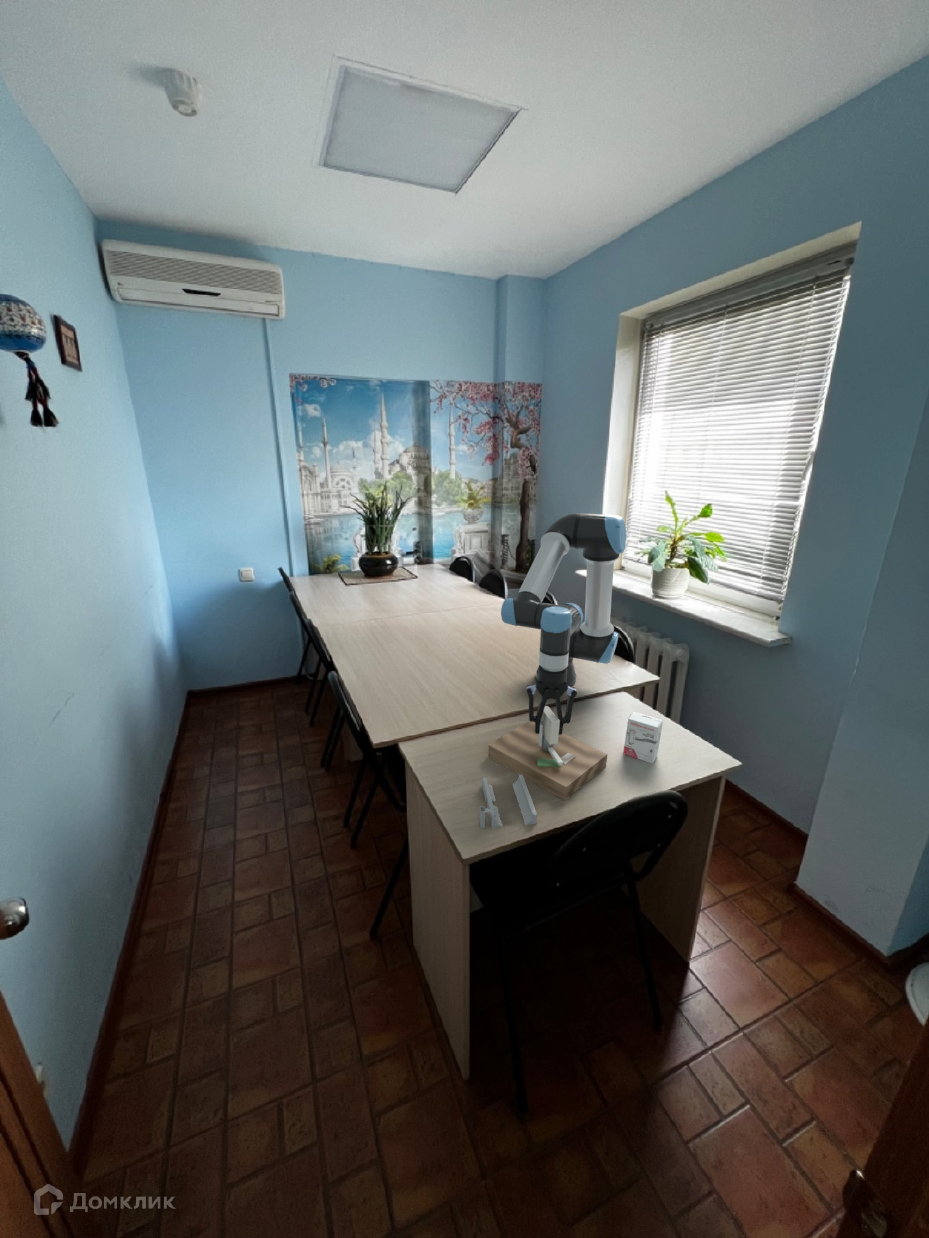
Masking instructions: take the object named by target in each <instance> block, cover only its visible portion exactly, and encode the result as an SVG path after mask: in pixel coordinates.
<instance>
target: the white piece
mask: <svg viewBox="0 0 929 1238" xmlns="http://www.w3.org/2000/svg"><path fill="white" fill-rule="evenodd" d="M541 720H542V722H543V731H542V746H541V749H542V750H543V751H546V752H550V754H551V755H552V757H553V758H554V759H555V761H556V762H557V764H558V765H563V761H562V760H561V758H560V757H559V756H558V754H557V753H556V752H555V750H554V749H553V744H557V743H558V738H559V725H560V720H559V719H558V715H556V714H555V713H554V711H553V710H552V709H551V707H549V706H548V705H545V708H544V711H543V715H542V719H541Z"/></svg>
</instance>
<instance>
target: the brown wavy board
mask: <svg viewBox="0 0 929 1238" xmlns="http://www.w3.org/2000/svg"><path fill="white" fill-rule="evenodd" d="M538 736H539V734H536V733H535V722H530V721H529V720H528V721H526V722H525V723H523V724H521V725H520V726H518V727H516V728H514V729H513V730H511V731H509V732H508V733H506V734H504V735H503V736H501V737H499V738H497V739H496V740H494V741H493V742H491V743H489V744H488V748H487V749H488V750H487V757H488V758H489V759H491V760H493V761H494V762H497V763H498V764H499V765H501V766H504V767H505V768H507V769H508V770H510V771H512V772H514V773H515V774H517V775H518V776H519V775H522V774H523V778H524V779H525V780H526V779H527V780H528V781H530V783H531V782H532V783H533V784H535V785H537V786H539V787H540V788H542V789H544V790H546V791H547V792H549V793H551V794H552V795H554V796H556V797H557V798H559V799H561V798H562V799H561V800H563V799H564V800H563V801H566V800H568V799H569V798H570V797H572V796H573V795H574V794H575V793H577V791H578V790H580V789H581V788H582V787H584V785H586V784H587V783H589V781H591V780H592V779H593V778H594V777H595V776H596V775H598V774H599V773H600V772H602V771H603V770H604V769H605V768H606V767H607V762H608V761H607V760H608V753H607V752H604V751H601V750H600V749H597V748H595V747H594V746H591V745H589V744H586V743H585V742H582V741H580V740H578V739H576V738H573V737H571V736H570V735H567V734H564V733H563V732H562V735H559V738H558V744H557V747H555V746H554V744H553V749H554V750H555V752H556V753H557V754H558V756H559V757H560V758H561V760H562V761H563V765H558V764H557V762H556V761H555V759H554V758H553V757H552V755H551V754H550V752H546V751H543V750H542V749H541V746H539V743H538ZM573 793H574V794H573ZM568 797H569V798H568Z"/></svg>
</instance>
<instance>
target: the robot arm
mask: <svg viewBox="0 0 929 1238" xmlns="http://www.w3.org/2000/svg"><path fill="white" fill-rule="evenodd" d="M626 528H627V527H626V523H625V520H624V518H623V517H621V516H620V515H612V514H609V513H608V514H604V513H603V514H601V513H581V512H572V513H568V514H566V515H563V516H562V517H560V518H558V519H557V520H556V521H554V522H552V523H551V525H549V526H548V527H547V528H546V530H545V531H544V532H543V534H542V535H541V539H540V547H539V549H538V552H537V553H536V556H535V557H534V560H533V562H532V563H531V566H530V568H529V570H528V571H527V574H526V575H525V578H524V580H523V582H522V584H521V586H520V588H519V590H518V592H517V595H516V596H515V598H514V597H507V598H506V599H504V600H503V602H502V605H501V609H500V616H501V620H502V622H503V623H504V624H507V625H511V626H515V627H522V628H529V629H535V630H540V634H539V635H540V638H539V652H538V653H539V655H538V656H539V657H538V666H537V670H536V673H535V680H536V682H535V684H534V685H530V684H527V685H526V687H525V688H526V693H527V695H528V721H530V722H535V733H536V734H539V736H538V743H539V746H542V731H543V722H542V720H541V719H542V715H543V711H544V708H545V706H546V703H547V702H548V700H555V707H556V713H557V715H556V716H557V718H558V719H559V720H560V725H559V735H562V733H563V732H564V731H563V729H564V728H563V727H564V725H565V724H567V725H568V724H570V723H571V721H572V720H571V719H572V714H573V713H572V712H573V708H574V707H573V705H574V700H575V697H576V696H577V695H578V692H577V689H576V687H575V686H573V685H575V684H576V683H575V682H577V673H576V670H575V665H574V659H577V660H583V661H588V662H593V663H597V664H609V663H611V661H612V659H613V658H614V654H615V650H616V648H617V644H618V640H619V633H618V632H616V631H615V628H614V627H615V626H614V625H613V624H612V623H611V612H612V611H611V609H612V596H613V583H614V582H613V580H614V567H615V566H614V564H615V562H616V561H617V560H618V559H619V558H620V554H623V553H624V552H625V550H626V543H627V529H626ZM570 550H580V551H582V558H583V559H584V560H586V575H585V576H586V577H585V580H586V582H585V583H586V584H585V607H584V613H583V609H582V608H581V607H580V606H579V604H576V603H574V602H566V603H563V604H553V603H547V602H543V601H544V598H545V597H546V594H547V591H548V589H549V587H550V585H551V583H552V581H553V579H554V577H555V574H556V572H557V569H558V568H559V565H560V563H561V561H562V559H563V557H564V556H565V555H567V554H568V553H569V551H570ZM583 620H584V621H583ZM536 690H537V692H538V693H539V694H540V700H539V704H538V706H537V711H536V715H535V712H534V709H535V707H534V706H535V705H534V704H535V700H534V699H535V698H534V695H535V694H536ZM565 693H567V699H566V700H567V701H566V707H565V713H564V716H563V710H562V704H561V703H562V702H561V701H562V700H561V697H562V696H563V695H564V694H565ZM557 744H558V743H557ZM557 744H554V746H555V747H557Z"/></svg>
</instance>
